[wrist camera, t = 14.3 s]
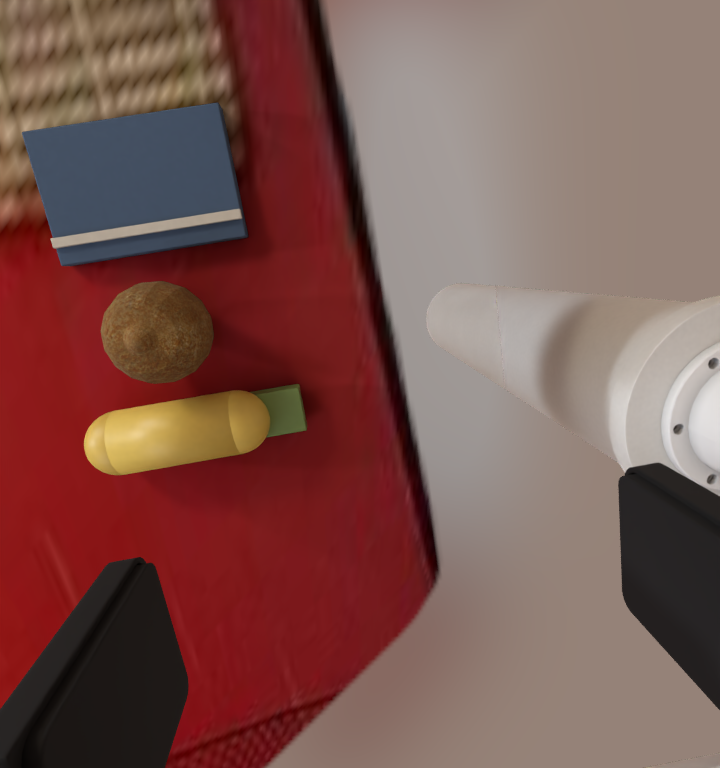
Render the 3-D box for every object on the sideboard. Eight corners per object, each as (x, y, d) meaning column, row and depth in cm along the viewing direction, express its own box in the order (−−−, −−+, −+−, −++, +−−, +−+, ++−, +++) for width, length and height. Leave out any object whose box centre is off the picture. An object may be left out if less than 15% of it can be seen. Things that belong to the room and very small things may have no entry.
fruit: (118, 294, 33) (55, 301, 25) (206, 268, 33) (170, 267, 25) (153, 380, 35) (103, 411, 27) (237, 355, 35) (212, 379, 27)
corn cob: (298, 373, 35) (294, 387, 31) (309, 430, 36) (307, 451, 32) (94, 408, 35) (62, 427, 30) (111, 465, 36) (82, 491, 31)
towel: (222, 108, 31) (217, 100, 30) (248, 237, 33) (245, 236, 31) (32, 137, 31) (17, 130, 29) (70, 266, 32) (58, 266, 31)
